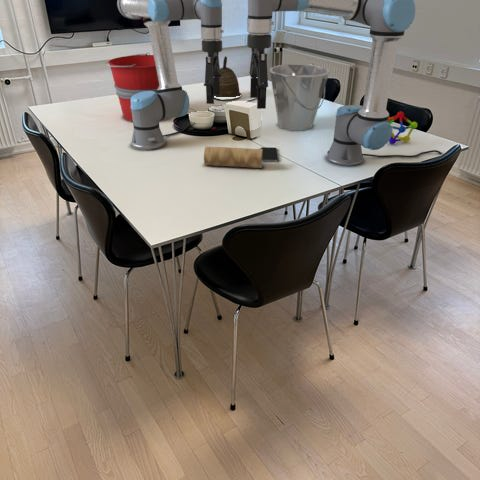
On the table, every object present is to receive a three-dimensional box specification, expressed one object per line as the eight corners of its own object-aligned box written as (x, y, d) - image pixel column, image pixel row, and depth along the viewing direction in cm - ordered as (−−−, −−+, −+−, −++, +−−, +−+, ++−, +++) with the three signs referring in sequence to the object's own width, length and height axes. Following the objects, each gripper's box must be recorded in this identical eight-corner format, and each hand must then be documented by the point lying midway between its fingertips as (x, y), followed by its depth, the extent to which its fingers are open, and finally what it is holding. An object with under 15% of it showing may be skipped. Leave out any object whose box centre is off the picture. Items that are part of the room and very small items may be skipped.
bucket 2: (296, 138, 215) (301, 78, 201) (255, 124, 234) (256, 68, 219) (335, 125, 232) (342, 70, 217) (294, 113, 251) (297, 61, 236)
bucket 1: (122, 106, 262) (115, 52, 246) (181, 107, 261) (178, 52, 245) (105, 124, 232) (96, 64, 216) (172, 125, 231) (167, 64, 216)
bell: (227, 105, 294) (202, 96, 282) (238, 66, 289) (213, 55, 277) (243, 108, 280) (217, 98, 268) (255, 66, 275) (229, 55, 263)
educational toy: (377, 146, 209) (379, 114, 202) (384, 138, 219) (386, 107, 211) (411, 149, 202) (415, 116, 195) (417, 141, 212) (420, 109, 204)
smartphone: (261, 159, 190) (260, 147, 203) (261, 161, 190) (260, 148, 203) (278, 159, 190) (276, 147, 202) (278, 161, 190) (276, 148, 203)
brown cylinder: (204, 168, 184) (203, 150, 180) (207, 161, 190) (207, 143, 186) (260, 171, 181) (261, 153, 177) (262, 163, 188) (263, 146, 184)
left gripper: (216, 45, 150) (217, 108, 161) (227, 35, 171) (227, 91, 182) (194, 44, 151) (197, 107, 162) (208, 34, 172) (209, 90, 183)
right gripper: (280, 39, 127) (276, 112, 139) (263, 28, 148) (261, 93, 159) (254, 39, 126) (252, 113, 138) (241, 28, 147) (241, 93, 159)
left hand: (213, 99), depth 172 cm, fingers open, 13 cm apart
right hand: (257, 102), depth 149 cm, fingers open, 13 cm apart
